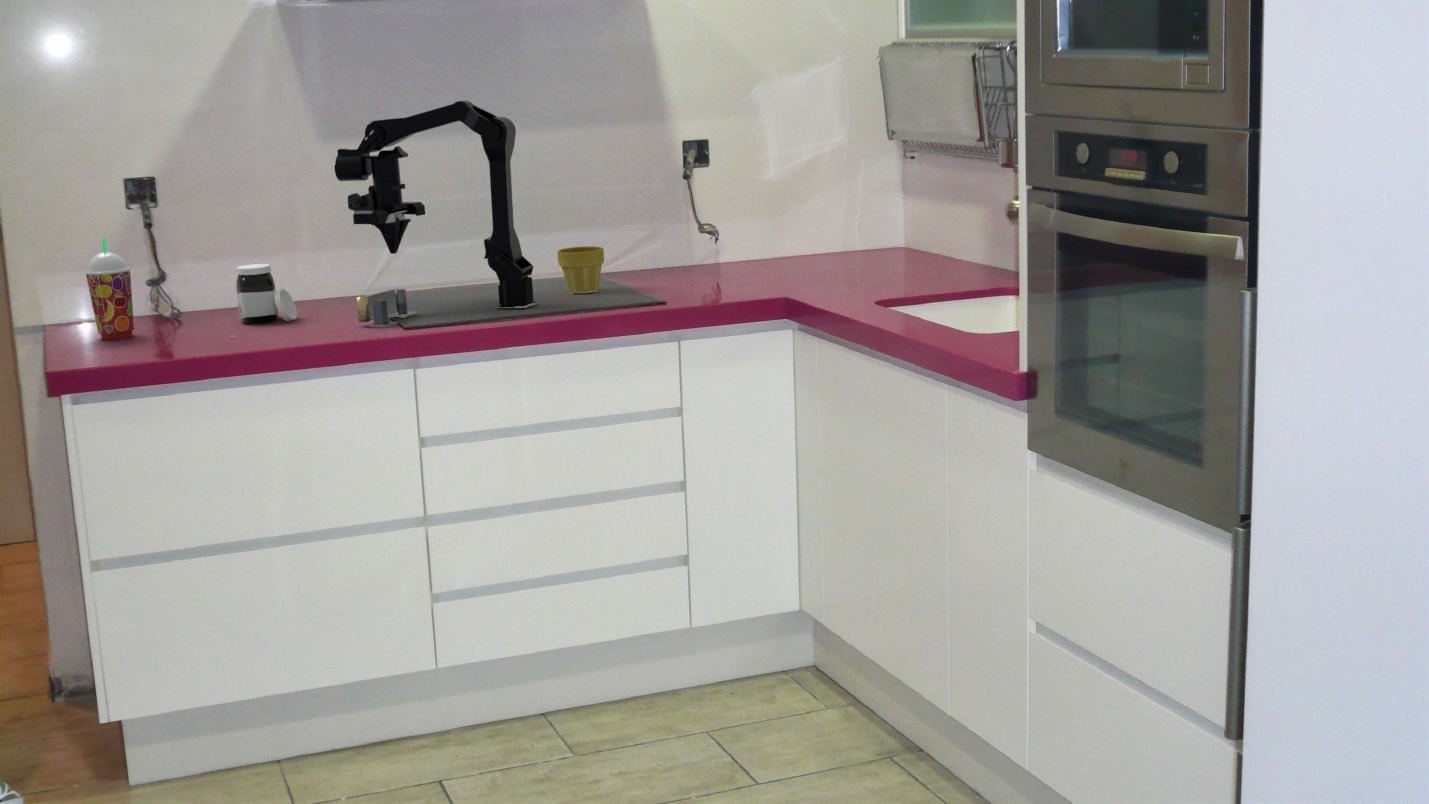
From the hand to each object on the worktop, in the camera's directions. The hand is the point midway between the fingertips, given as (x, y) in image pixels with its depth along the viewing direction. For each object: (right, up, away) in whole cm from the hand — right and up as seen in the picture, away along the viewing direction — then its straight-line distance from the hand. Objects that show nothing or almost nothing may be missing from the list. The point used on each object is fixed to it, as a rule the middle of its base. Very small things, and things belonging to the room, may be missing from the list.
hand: (393, 253), depth 303 cm
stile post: (+1, -16, -17) cm, 24 cm away
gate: (0, -15, -13) cm, 20 cm away
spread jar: (-25, -15, -6) cm, 30 cm away
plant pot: (+39, -7, +15) cm, 43 cm away
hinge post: (+3, -14, -7) cm, 16 cm away
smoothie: (-51, -19, -18) cm, 58 cm away
